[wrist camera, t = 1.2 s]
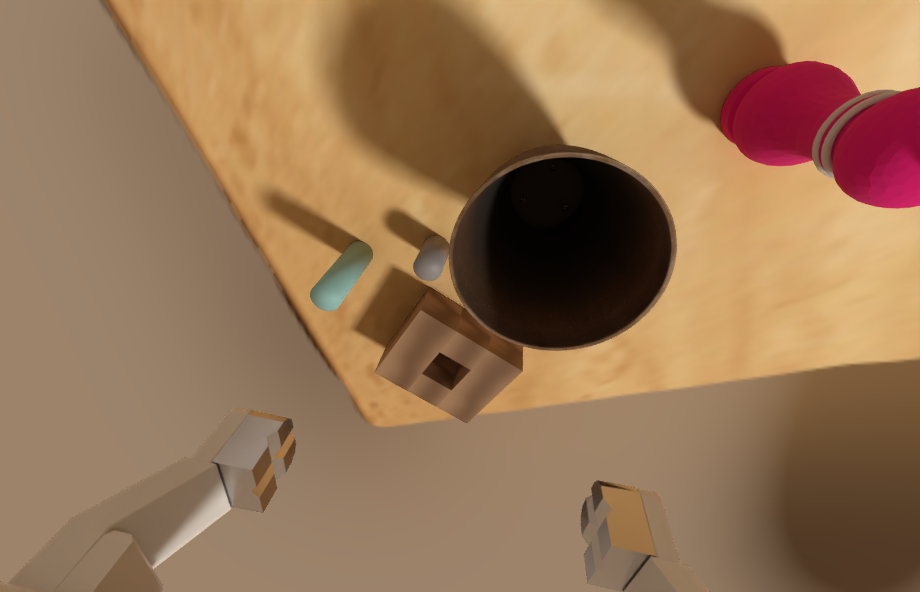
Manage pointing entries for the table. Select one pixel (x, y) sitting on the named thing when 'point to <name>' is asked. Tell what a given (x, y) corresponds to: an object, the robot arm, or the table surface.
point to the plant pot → (562, 249)
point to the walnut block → (459, 338)
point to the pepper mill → (830, 130)
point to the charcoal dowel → (431, 258)
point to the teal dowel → (341, 276)
